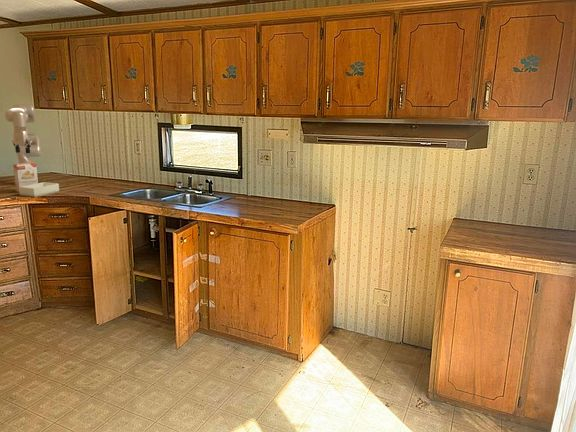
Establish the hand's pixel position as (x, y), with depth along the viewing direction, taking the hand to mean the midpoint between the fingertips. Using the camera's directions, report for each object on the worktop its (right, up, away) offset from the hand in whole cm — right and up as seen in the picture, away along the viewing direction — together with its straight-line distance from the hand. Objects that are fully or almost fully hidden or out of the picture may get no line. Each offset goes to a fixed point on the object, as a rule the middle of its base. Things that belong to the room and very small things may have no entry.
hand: (23, 152), depth 318 cm
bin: (+12, -30, +1) cm, 32 cm away
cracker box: (-1, -28, +8) cm, 29 cm away
